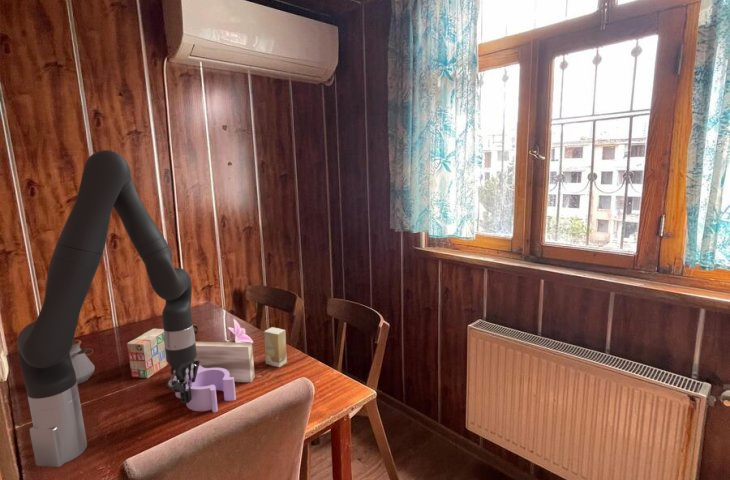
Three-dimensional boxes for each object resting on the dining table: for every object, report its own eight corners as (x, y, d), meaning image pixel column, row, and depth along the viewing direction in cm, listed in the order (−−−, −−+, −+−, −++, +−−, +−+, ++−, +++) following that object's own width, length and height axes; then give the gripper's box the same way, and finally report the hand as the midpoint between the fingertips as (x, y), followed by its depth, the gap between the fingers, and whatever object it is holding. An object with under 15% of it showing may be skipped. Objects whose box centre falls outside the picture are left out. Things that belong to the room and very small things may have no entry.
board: (251, 382, 127) (248, 347, 125) (186, 380, 130) (182, 345, 128) (254, 377, 130) (252, 342, 128) (191, 375, 133) (187, 341, 131)
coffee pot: (47, 383, 130) (39, 340, 128) (87, 368, 140) (81, 328, 137) (74, 403, 118) (66, 356, 116) (116, 386, 128) (109, 341, 125)
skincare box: (265, 364, 139) (262, 331, 137) (273, 358, 143) (271, 326, 141) (279, 367, 136) (277, 334, 134) (288, 362, 140) (285, 329, 138)
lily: (232, 359, 146) (243, 336, 145) (211, 341, 151) (222, 319, 150) (253, 355, 157) (264, 334, 156) (233, 339, 162) (243, 318, 161)
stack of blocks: (173, 349, 154) (170, 318, 151) (188, 350, 152) (185, 319, 150) (131, 377, 133) (126, 342, 131) (147, 378, 132) (142, 343, 130)
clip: (164, 398, 120) (161, 377, 119) (200, 379, 131) (197, 359, 129) (208, 417, 110) (205, 394, 109) (242, 395, 120) (241, 374, 119)
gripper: (178, 354, 100) (186, 416, 103) (205, 333, 113) (211, 389, 116) (151, 353, 101) (159, 415, 104) (181, 332, 114) (187, 388, 117)
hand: (186, 401), depth 110 cm, fingers closed
